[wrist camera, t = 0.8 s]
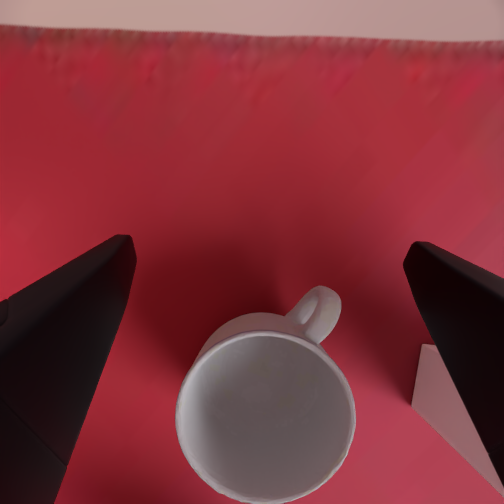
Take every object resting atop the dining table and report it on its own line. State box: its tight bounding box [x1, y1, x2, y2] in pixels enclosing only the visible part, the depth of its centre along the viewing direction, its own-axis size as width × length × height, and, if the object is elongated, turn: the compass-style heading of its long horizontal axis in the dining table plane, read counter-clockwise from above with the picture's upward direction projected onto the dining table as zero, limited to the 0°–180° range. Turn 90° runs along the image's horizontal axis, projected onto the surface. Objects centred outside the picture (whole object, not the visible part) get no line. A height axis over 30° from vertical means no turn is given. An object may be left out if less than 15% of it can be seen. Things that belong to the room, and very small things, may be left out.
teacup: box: [175, 286, 356, 504], centre depth 21 cm, size 14×11×8 cm
